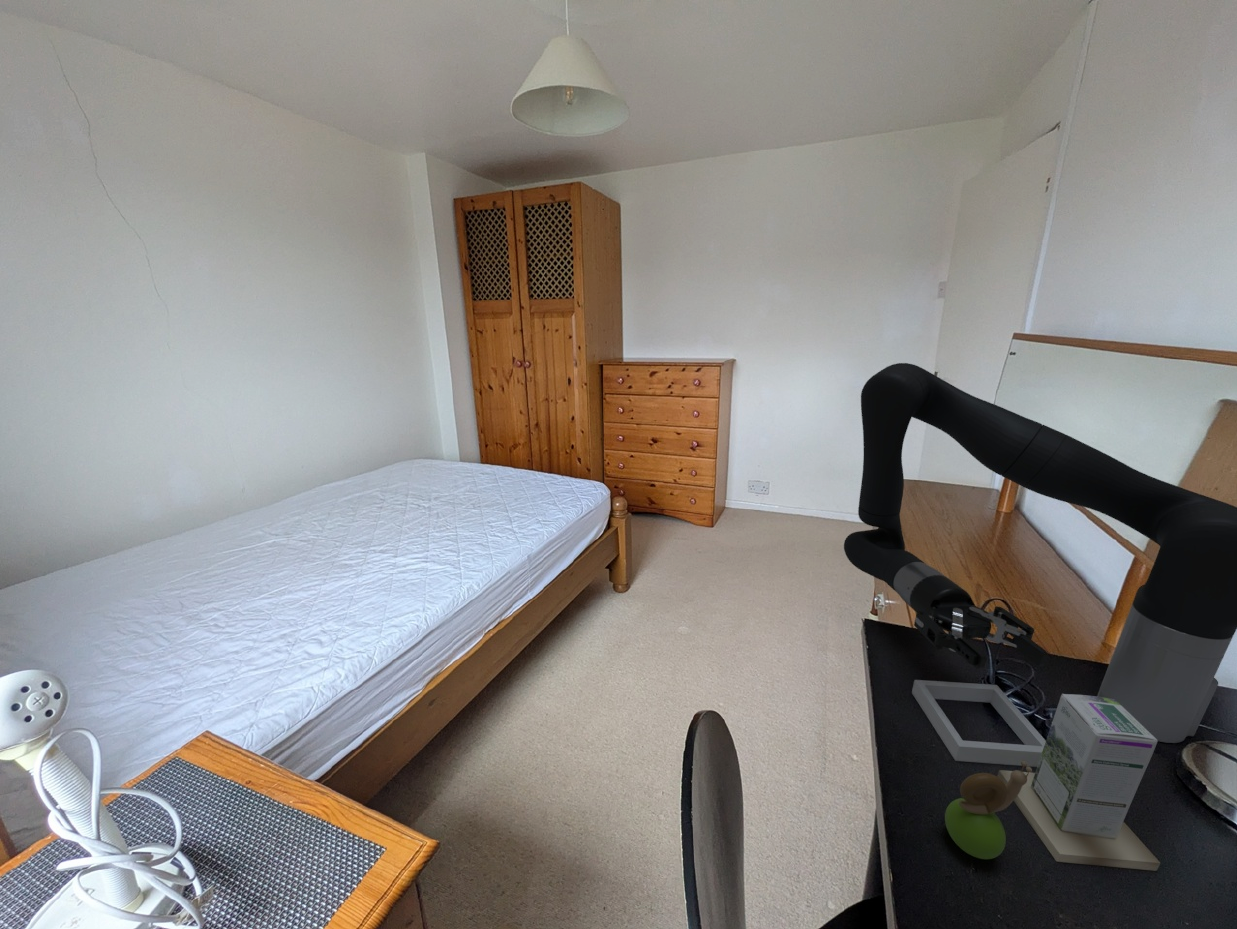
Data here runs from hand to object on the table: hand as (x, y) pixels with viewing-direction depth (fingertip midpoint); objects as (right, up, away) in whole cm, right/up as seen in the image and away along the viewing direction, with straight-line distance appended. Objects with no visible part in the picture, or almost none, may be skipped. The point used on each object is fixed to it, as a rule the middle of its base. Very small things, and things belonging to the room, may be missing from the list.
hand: (1013, 661), depth 64 cm
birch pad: (+1, -16, -7) cm, 17 cm away
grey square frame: (-1, -12, +5) cm, 13 cm away
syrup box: (0, -15, -7) cm, 16 cm away
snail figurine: (-13, -17, -10) cm, 23 cm away
